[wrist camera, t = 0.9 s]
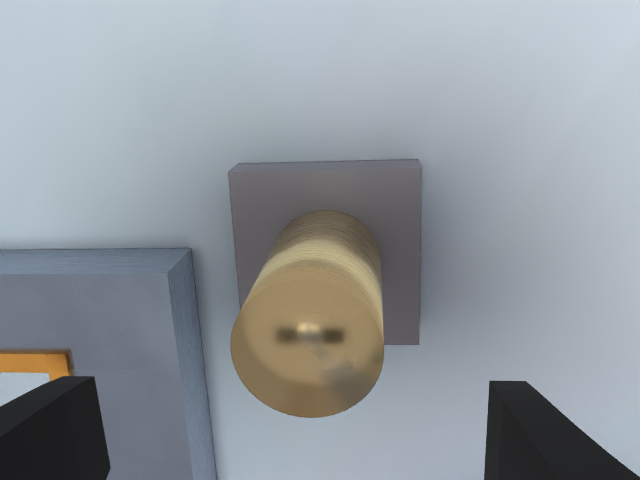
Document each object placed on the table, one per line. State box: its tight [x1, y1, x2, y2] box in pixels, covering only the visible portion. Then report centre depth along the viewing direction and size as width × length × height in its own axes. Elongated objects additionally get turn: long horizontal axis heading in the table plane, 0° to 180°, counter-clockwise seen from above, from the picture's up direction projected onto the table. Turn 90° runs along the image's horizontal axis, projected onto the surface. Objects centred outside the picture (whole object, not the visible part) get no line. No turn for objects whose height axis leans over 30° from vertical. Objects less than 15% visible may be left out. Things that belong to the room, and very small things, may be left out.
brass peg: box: [231, 209, 384, 418], centre depth 16 cm, size 4×4×6 cm
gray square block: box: [228, 159, 421, 345], centre depth 20 cm, size 6×6×2 cm
